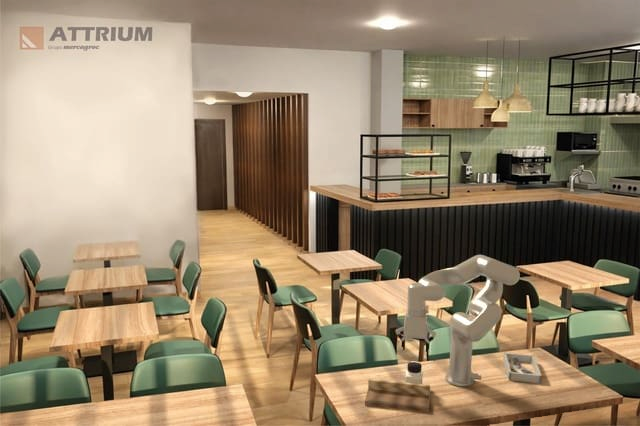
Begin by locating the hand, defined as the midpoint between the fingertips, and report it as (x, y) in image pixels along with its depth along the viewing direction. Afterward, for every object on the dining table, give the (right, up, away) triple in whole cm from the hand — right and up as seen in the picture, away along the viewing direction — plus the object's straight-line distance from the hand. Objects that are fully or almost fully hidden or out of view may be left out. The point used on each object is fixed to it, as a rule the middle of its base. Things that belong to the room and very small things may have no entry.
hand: (415, 349), depth 241 cm
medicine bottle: (0, -18, +3) cm, 18 cm away
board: (-9, -20, -8) cm, 23 cm away
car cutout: (+54, -15, +22) cm, 60 cm away
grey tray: (+54, -15, +22) cm, 60 cm away
